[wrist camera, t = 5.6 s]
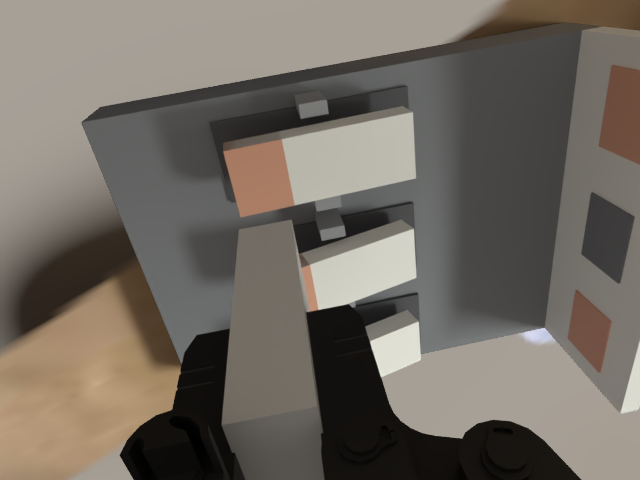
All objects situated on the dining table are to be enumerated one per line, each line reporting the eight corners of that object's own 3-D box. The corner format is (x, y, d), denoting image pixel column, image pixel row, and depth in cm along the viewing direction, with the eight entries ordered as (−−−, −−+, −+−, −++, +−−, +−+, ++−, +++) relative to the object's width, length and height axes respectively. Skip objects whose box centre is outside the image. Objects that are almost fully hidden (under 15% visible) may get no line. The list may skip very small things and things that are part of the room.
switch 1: (402, 105, 20) (413, 112, 19) (406, 169, 22) (416, 178, 20) (222, 142, 19) (223, 151, 18) (239, 206, 21) (240, 217, 20)
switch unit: (563, 22, 24) (746, 41, 15) (534, 297, 33) (638, 409, 24) (100, 107, 23) (7, 180, 14) (201, 368, 31) (183, 512, 23)
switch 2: (401, 219, 24) (414, 228, 23) (404, 267, 25) (416, 277, 24) (254, 269, 22) (260, 282, 21) (267, 317, 23) (274, 332, 22)
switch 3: (407, 309, 27) (418, 321, 26) (409, 347, 28) (421, 360, 27) (278, 360, 25) (285, 375, 24) (288, 398, 26) (295, 414, 25)
